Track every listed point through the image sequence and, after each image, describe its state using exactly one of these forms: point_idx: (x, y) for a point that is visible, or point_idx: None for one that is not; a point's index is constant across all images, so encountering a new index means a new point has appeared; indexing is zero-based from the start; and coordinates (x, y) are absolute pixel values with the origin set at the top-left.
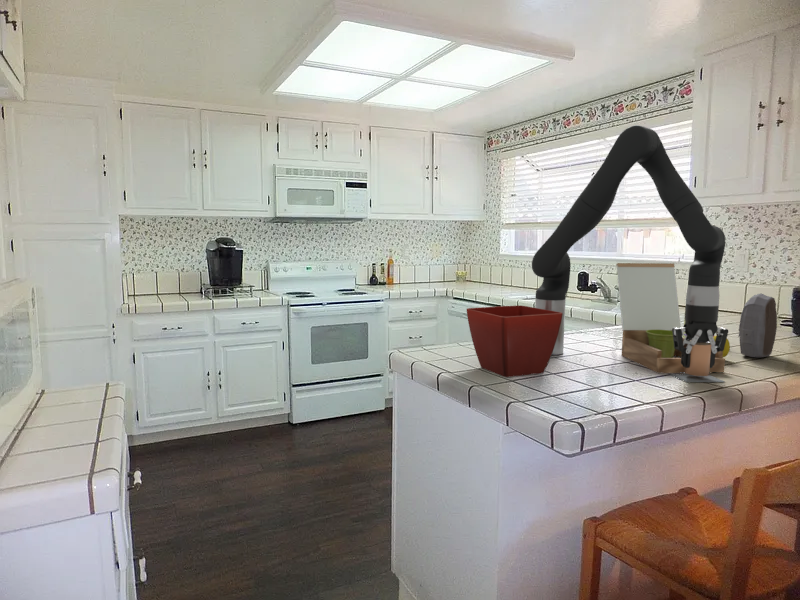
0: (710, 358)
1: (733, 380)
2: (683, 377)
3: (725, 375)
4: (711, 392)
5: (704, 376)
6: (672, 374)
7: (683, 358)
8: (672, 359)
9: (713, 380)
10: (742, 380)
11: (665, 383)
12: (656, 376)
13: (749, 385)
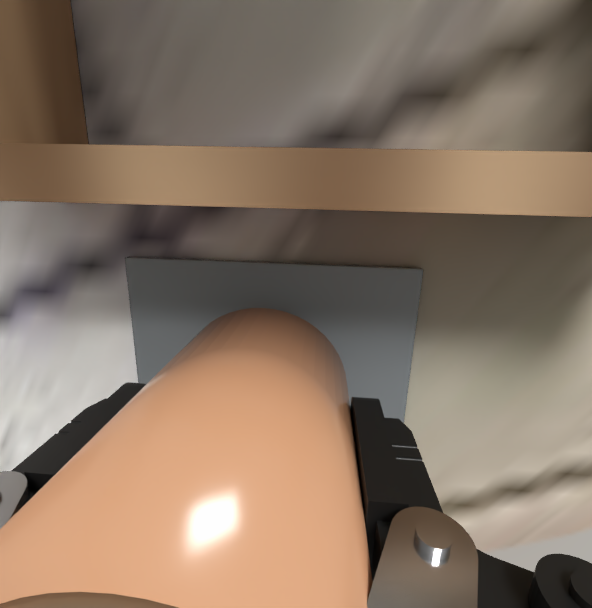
0: None
1: (504, 426)
2: None
3: (574, 293)
4: None
5: (346, 350)
6: (134, 282)
7: None
8: (93, 201)
9: None
10: (572, 431)
11: (21, 448)
12: (19, 293)
13: (505, 530)
